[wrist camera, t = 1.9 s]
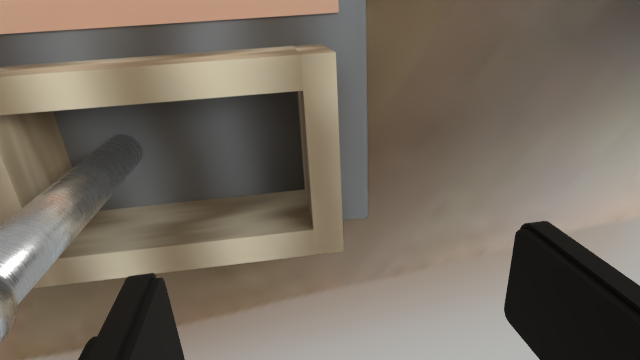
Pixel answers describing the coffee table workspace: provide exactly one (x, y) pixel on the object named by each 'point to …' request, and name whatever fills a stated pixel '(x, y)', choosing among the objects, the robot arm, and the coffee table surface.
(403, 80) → the coffee table surface
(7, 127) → the open wooden box
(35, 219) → the pin stand
